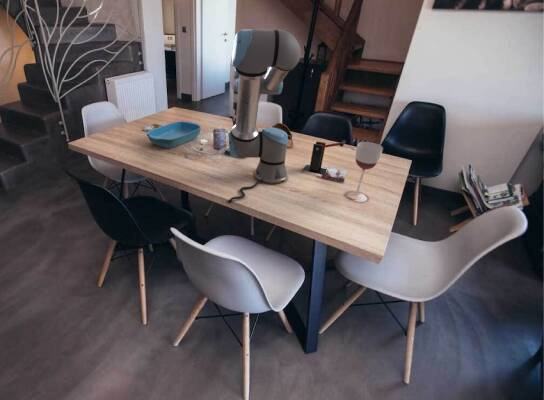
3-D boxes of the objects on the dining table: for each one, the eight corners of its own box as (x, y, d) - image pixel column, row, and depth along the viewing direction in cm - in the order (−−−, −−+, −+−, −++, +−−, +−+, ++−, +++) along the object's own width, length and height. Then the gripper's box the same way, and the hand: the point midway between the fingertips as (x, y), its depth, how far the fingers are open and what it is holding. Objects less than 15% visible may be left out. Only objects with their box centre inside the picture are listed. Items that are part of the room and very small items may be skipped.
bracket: (327, 171, 155) (333, 143, 147) (323, 177, 149) (329, 148, 141) (306, 166, 159) (311, 139, 152) (301, 172, 154) (305, 143, 146)
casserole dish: (168, 153, 172) (167, 140, 168) (140, 144, 183) (138, 133, 179) (207, 136, 198) (207, 125, 195) (181, 129, 209) (180, 119, 205)
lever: (346, 143, 143) (345, 138, 142) (343, 147, 139) (342, 142, 138) (318, 148, 151) (317, 143, 150) (315, 151, 147) (314, 147, 146)
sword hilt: (296, 128, 194) (275, 119, 193) (300, 141, 173) (276, 130, 172) (288, 142, 199) (267, 133, 197) (291, 156, 178) (268, 146, 176)
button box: (243, 158, 167) (243, 151, 165) (224, 153, 173) (224, 147, 171) (251, 152, 175) (252, 146, 173) (233, 148, 180) (233, 142, 178)
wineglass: (361, 191, 137) (375, 141, 126) (371, 202, 129) (387, 150, 117) (341, 191, 137) (353, 141, 125) (350, 202, 128) (364, 150, 117)
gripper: (240, 105, 153) (238, 149, 165) (252, 100, 162) (249, 142, 174) (227, 103, 156) (226, 147, 168) (240, 98, 166) (238, 140, 178)
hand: (238, 144), depth 171 cm, fingers closed
